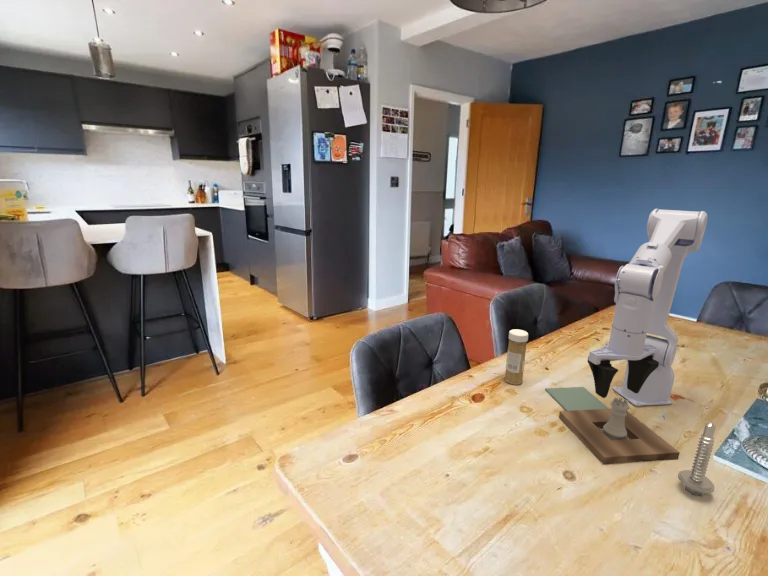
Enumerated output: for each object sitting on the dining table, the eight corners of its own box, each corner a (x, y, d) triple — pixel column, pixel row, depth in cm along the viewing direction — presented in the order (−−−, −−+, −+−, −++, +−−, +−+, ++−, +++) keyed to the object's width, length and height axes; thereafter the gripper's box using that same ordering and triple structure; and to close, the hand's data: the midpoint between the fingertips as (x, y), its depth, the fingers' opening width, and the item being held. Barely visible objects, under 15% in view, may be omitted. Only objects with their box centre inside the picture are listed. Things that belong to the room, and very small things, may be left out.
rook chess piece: (596, 430, 83) (603, 395, 81) (617, 429, 83) (623, 395, 81) (610, 444, 78) (617, 408, 76) (631, 443, 79) (639, 407, 77)
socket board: (622, 413, 89) (623, 407, 89) (678, 459, 75) (679, 452, 74) (558, 417, 87) (559, 411, 87) (603, 464, 73) (604, 457, 72)
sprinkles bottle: (526, 382, 102) (532, 333, 98) (514, 387, 99) (520, 336, 96) (511, 375, 106) (517, 327, 102) (500, 379, 103) (505, 330, 100)
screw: (674, 492, 67) (676, 476, 70) (711, 507, 64) (712, 489, 67) (691, 423, 63) (693, 410, 67) (731, 435, 60) (731, 421, 64)
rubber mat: (583, 388, 100) (583, 386, 100) (609, 410, 90) (610, 409, 90) (545, 389, 98) (545, 388, 98) (567, 412, 89) (568, 411, 89)
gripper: (642, 318, 81) (630, 379, 85) (581, 323, 77) (571, 387, 81) (674, 331, 74) (660, 396, 78) (610, 337, 71) (597, 405, 74)
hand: (616, 393), depth 79 cm, fingers open, 7 cm apart
